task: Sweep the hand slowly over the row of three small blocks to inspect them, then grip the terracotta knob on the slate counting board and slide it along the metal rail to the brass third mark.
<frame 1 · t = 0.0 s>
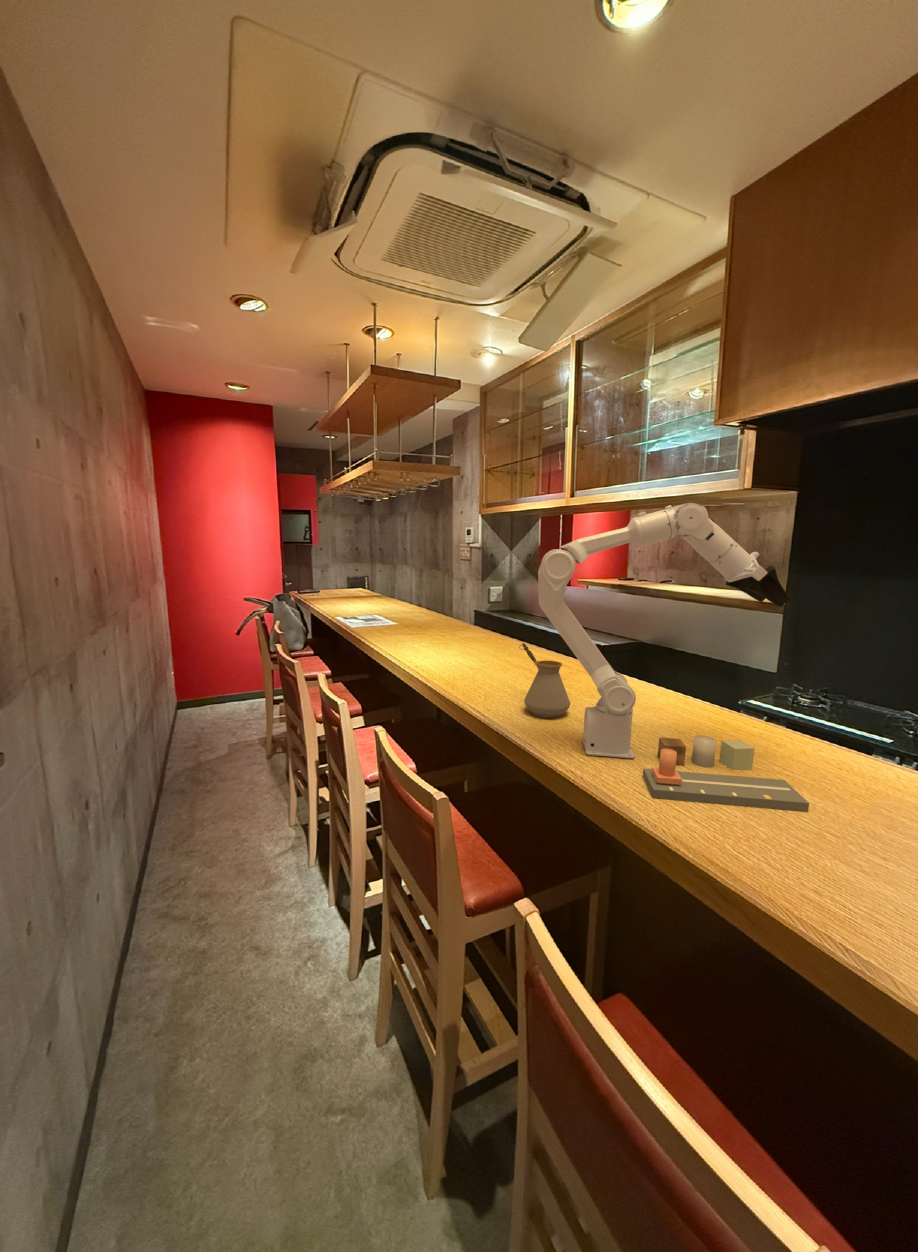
hand: (774, 600, 92), 32 cm above the table, tool tilted 50°, fingers open, 7 cm apart
sage block: (735, 765, 95), on the table
counter slider: (667, 765, 85), point 4 cm above the table, slide at 0.0 cm
grey cylinder: (702, 763, 96), on the table
coffee pot: (537, 707, 128), on the table
slate counting board: (719, 792, 85), on the table
walnut block: (670, 761, 97), on the table
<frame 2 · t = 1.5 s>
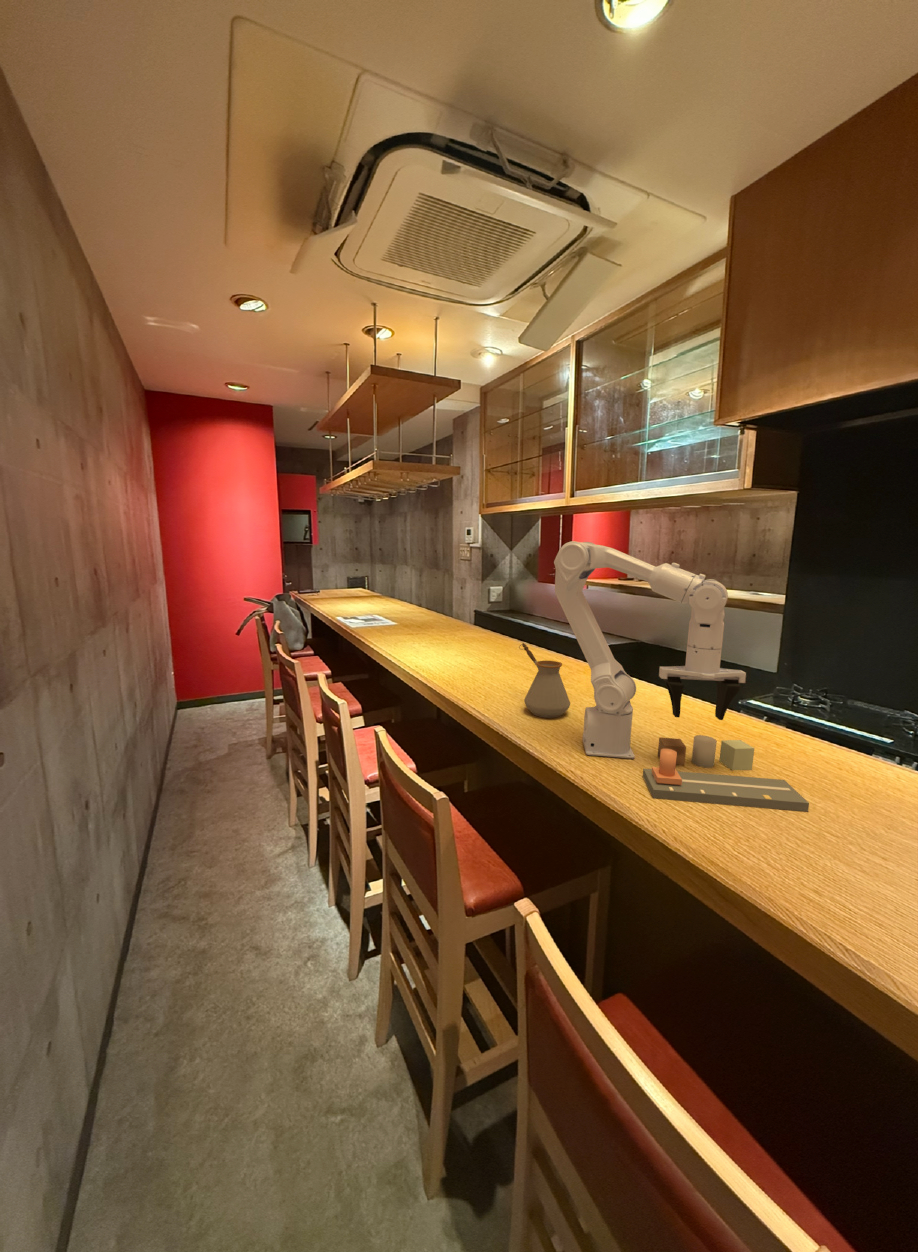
hand: (697, 717, 92), 10 cm above the table, tool pointing down, fingers open, 7 cm apart
nothing on the table moved.
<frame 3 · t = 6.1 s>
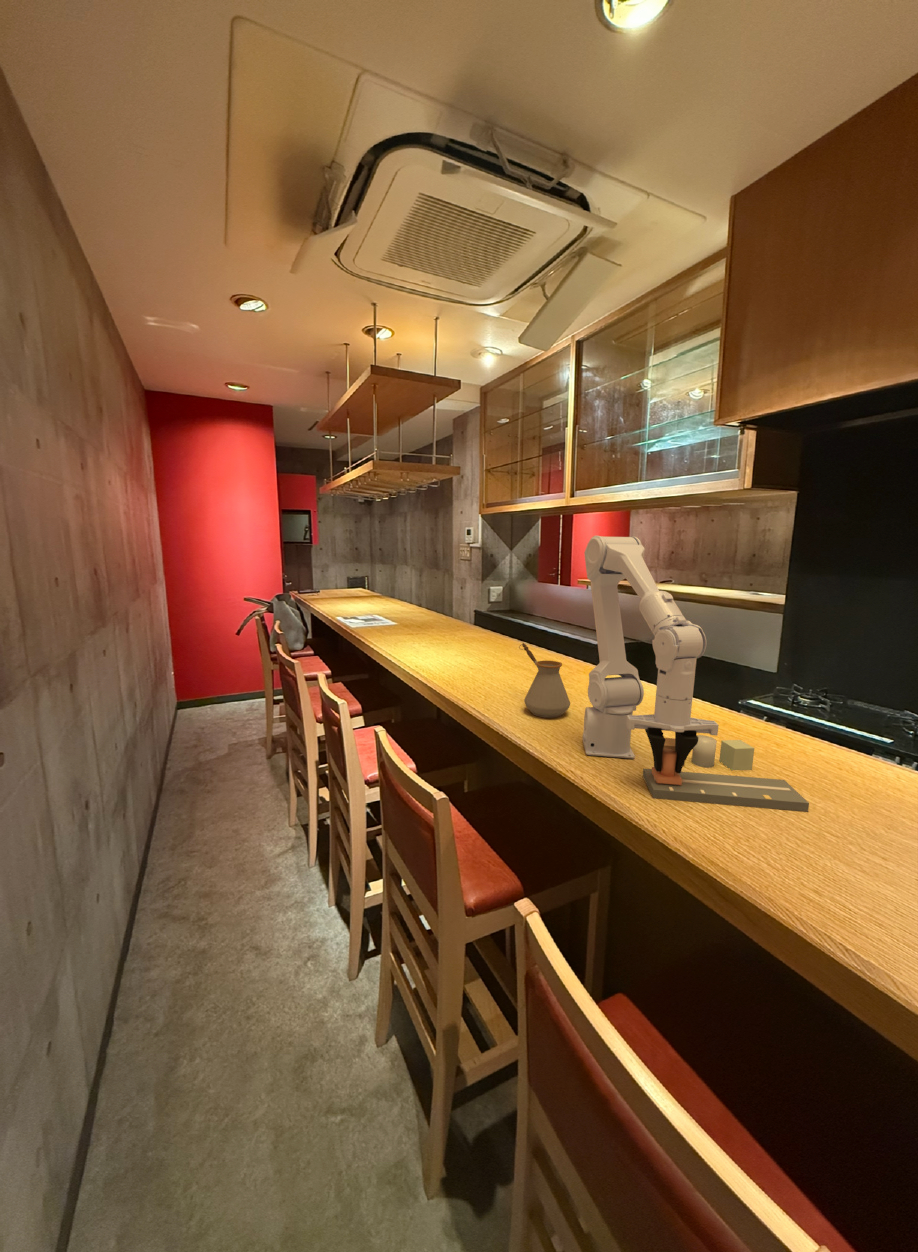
hand: (667, 769, 85), 3 cm above the table, tool pointing down, fingers closed on counter slider, 3 cm apart
counter slider: (667, 765, 85), point 4 cm above the table, slide at 0.0 cm, touching gripper
everything else where it was.
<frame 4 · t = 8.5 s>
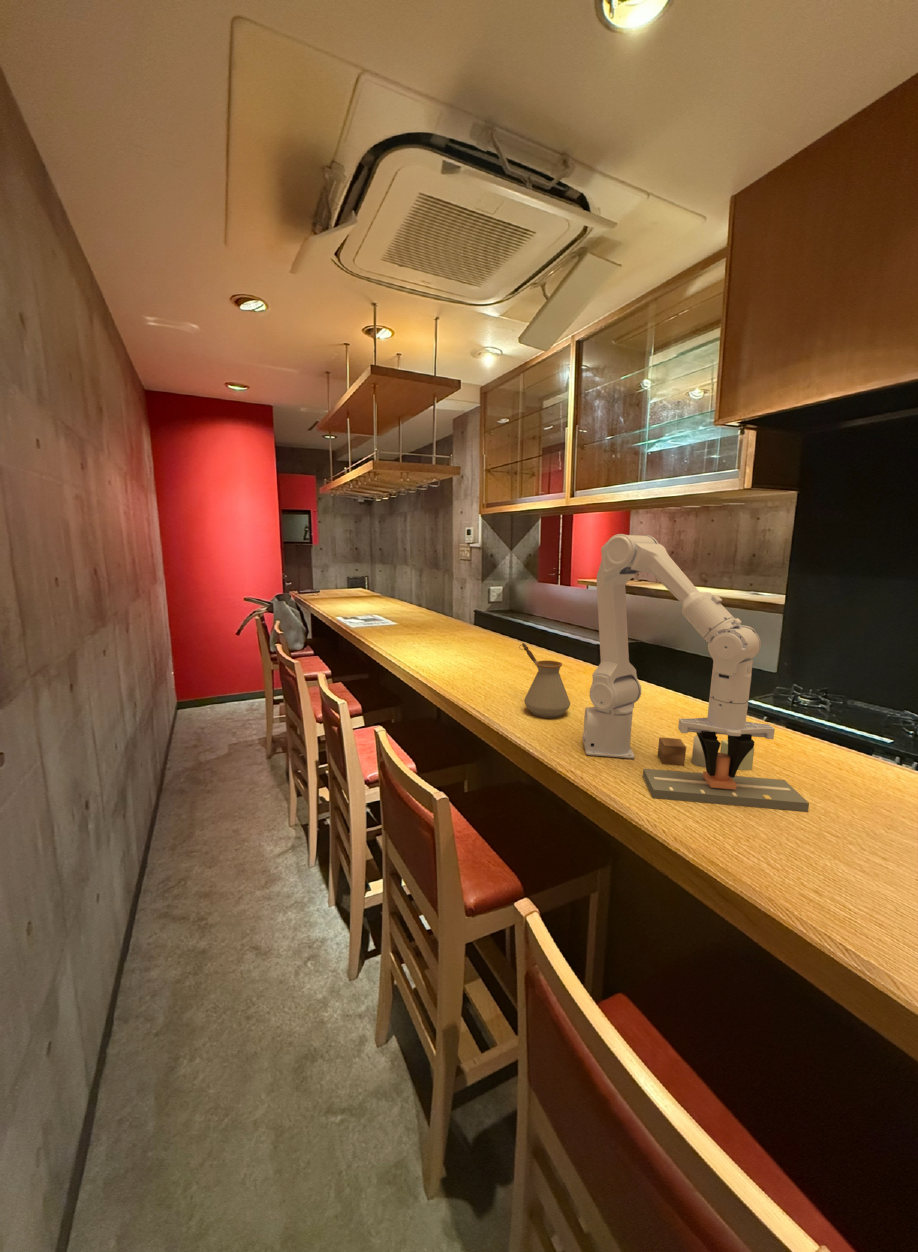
hand: (720, 774, 84), 3 cm above the table, tool pointing down, fingers closed on counter slider, 3 cm apart
counter slider: (720, 769, 84), point 4 cm above the table, slide at 8.7 cm, touching gripper
everything else where it was.
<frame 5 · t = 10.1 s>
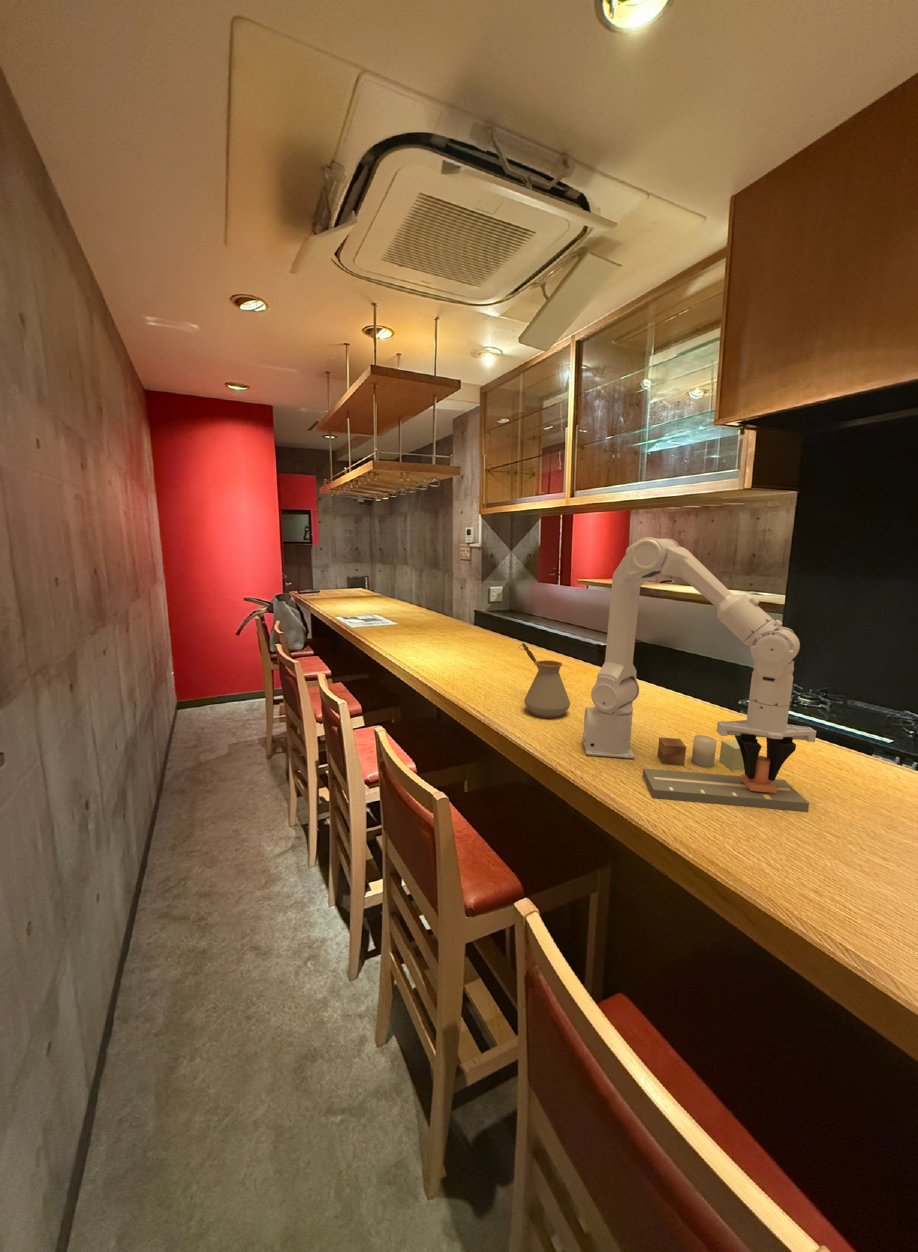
hand: (759, 777, 83), 3 cm above the table, tool pointing down, fingers closed on counter slider, 3 cm apart
counter slider: (759, 772, 83), point 4 cm above the table, slide at 15.0 cm, touching gripper
everything else where it was.
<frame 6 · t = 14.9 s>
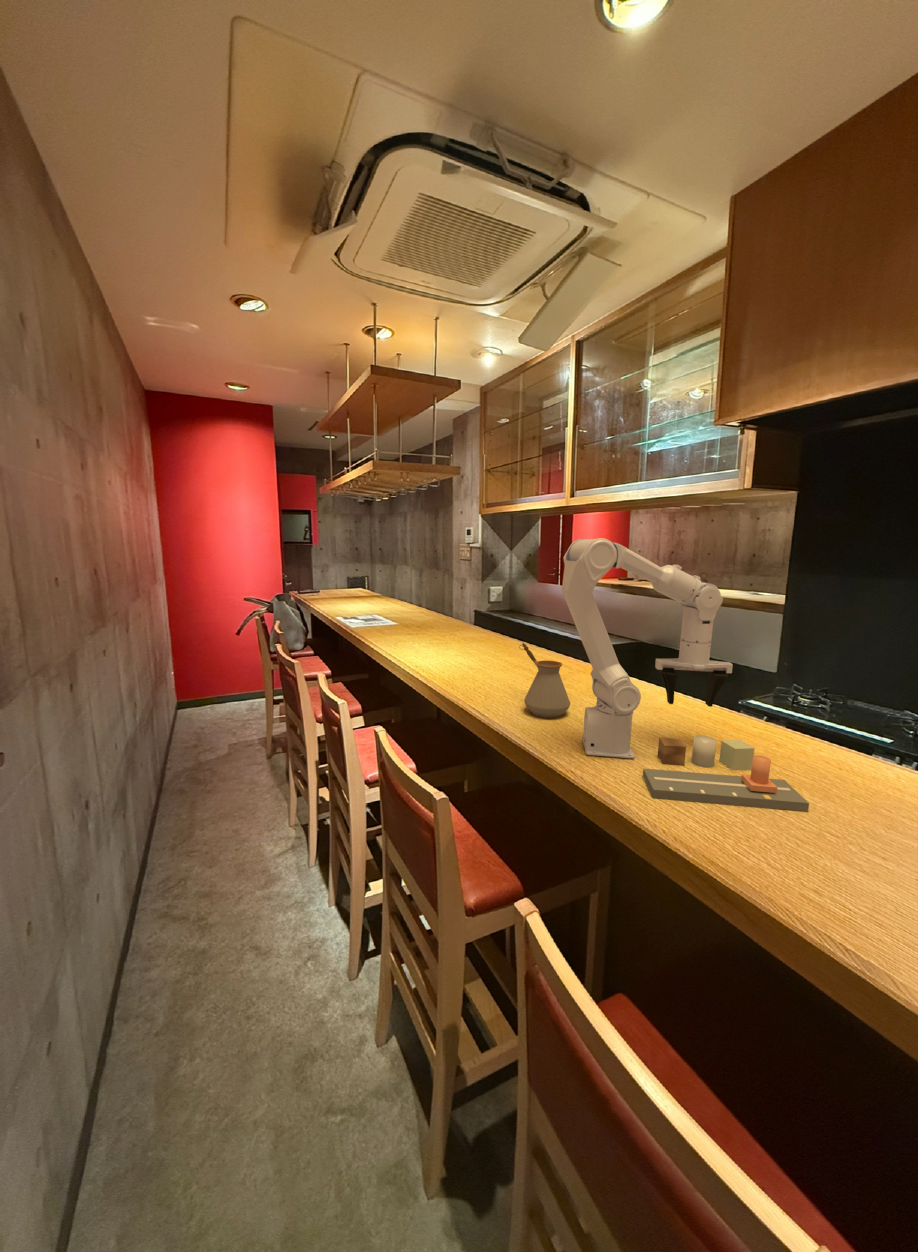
hand: (689, 703, 103), 9 cm above the table, tool pointing down, fingers open, 7 cm apart
counter slider: (760, 772, 83), point 4 cm above the table, slide at 15.0 cm
everything else where it was.
at the end: counter slider slide at 15.0 cm; the gripper is holding nothing; grey cylinder moved 0.1 cm from its start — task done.
